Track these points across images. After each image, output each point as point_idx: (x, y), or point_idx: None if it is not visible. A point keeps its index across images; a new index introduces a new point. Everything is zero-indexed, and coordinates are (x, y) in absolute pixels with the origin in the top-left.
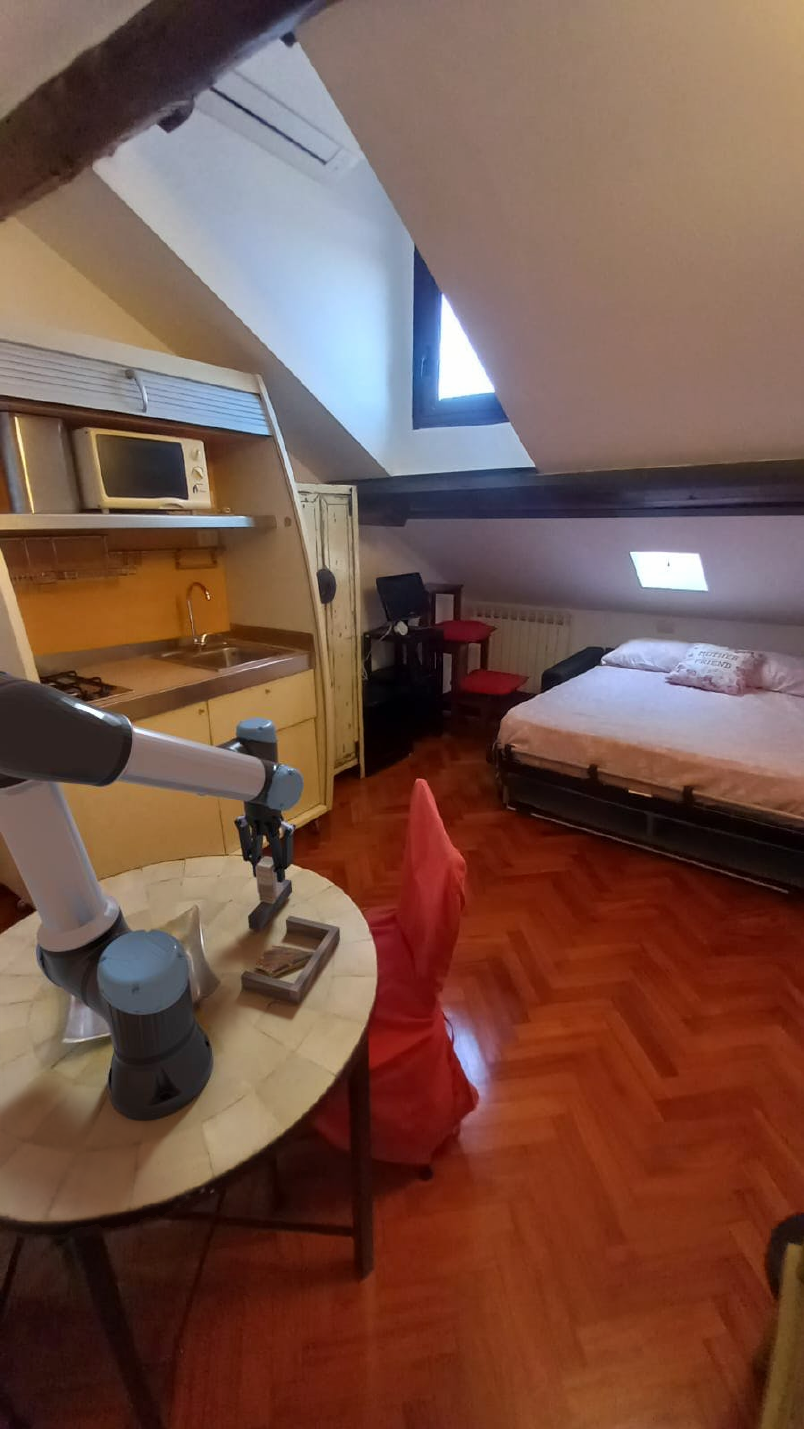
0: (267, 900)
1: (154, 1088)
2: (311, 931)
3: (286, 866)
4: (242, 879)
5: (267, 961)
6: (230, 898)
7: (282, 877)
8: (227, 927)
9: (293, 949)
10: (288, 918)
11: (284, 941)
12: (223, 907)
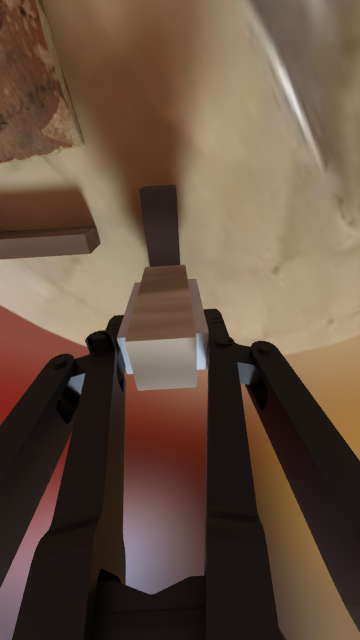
0: (161, 269)
1: None
2: (19, 234)
3: (46, 367)
4: (279, 328)
5: (12, 41)
6: (279, 275)
7: (108, 330)
8: (240, 179)
9: (6, 152)
10: (83, 242)
11: (74, 191)
12: (283, 244)
